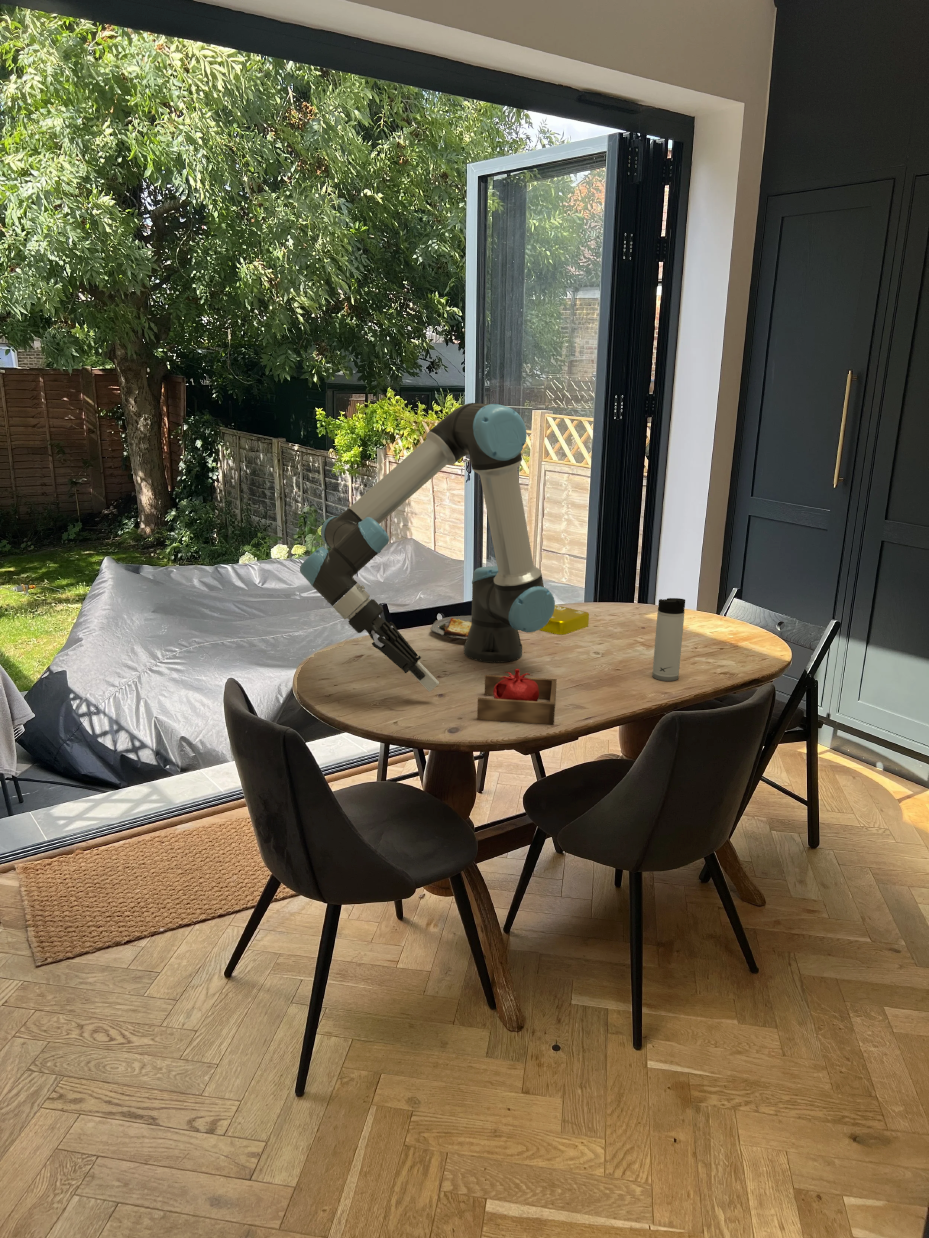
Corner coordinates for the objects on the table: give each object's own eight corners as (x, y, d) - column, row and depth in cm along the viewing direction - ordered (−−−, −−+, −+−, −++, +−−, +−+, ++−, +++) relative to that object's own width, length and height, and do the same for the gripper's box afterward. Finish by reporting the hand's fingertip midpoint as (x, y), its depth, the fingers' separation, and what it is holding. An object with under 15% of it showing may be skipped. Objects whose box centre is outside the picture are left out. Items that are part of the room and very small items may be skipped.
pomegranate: (541, 704, 196) (544, 664, 194) (533, 719, 187) (537, 677, 184) (497, 698, 198) (499, 658, 196) (488, 713, 189) (490, 672, 186)
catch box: (477, 719, 186) (477, 699, 185) (484, 693, 201) (485, 674, 200) (553, 724, 184) (554, 704, 183) (555, 698, 199) (556, 679, 198)
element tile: (519, 626, 258) (519, 610, 257) (549, 617, 269) (550, 601, 268) (561, 637, 248) (562, 620, 247) (591, 627, 259) (592, 611, 258)
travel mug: (664, 683, 211) (671, 601, 206) (646, 675, 216) (653, 595, 211) (684, 679, 214) (692, 599, 208) (666, 671, 219) (673, 593, 214)
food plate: (509, 648, 235) (509, 635, 234) (423, 643, 239) (423, 630, 238) (520, 626, 259) (520, 614, 258) (442, 621, 263) (442, 610, 262)
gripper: (364, 605, 184) (442, 686, 186) (377, 591, 196) (450, 667, 199) (339, 628, 186) (417, 708, 188) (354, 612, 198) (427, 688, 201)
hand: (434, 687), depth 194 cm, fingers closed
